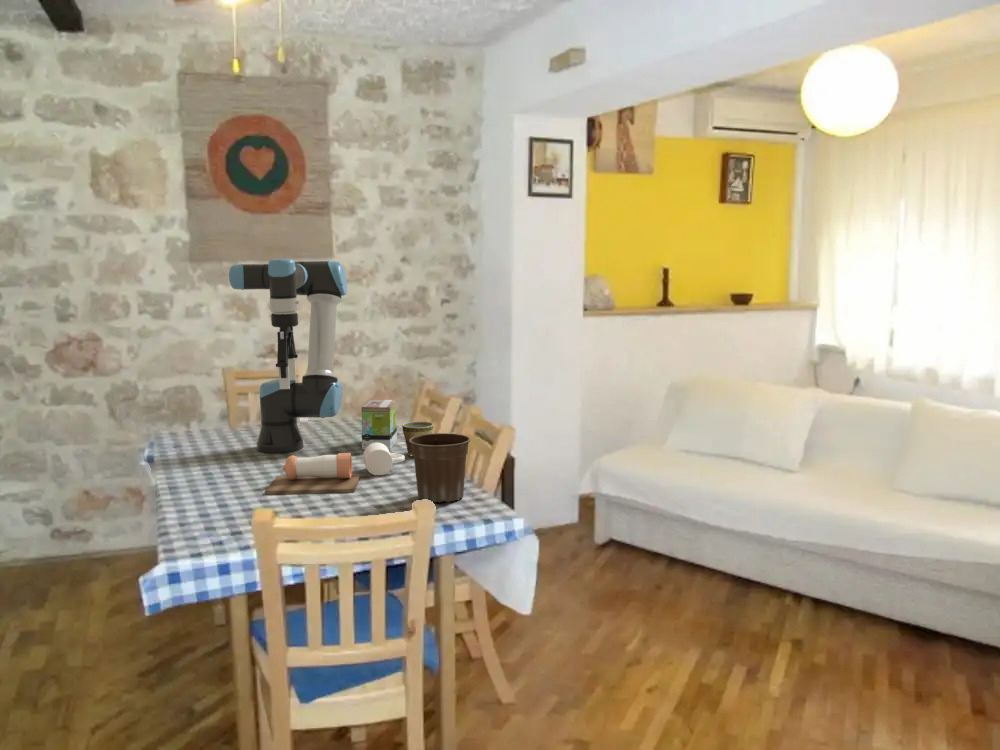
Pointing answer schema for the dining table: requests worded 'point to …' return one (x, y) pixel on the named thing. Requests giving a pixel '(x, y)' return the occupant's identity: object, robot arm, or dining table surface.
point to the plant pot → (440, 465)
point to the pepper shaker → (319, 466)
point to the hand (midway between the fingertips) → (288, 384)
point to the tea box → (379, 423)
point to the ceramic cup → (415, 432)
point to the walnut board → (312, 485)
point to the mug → (380, 459)
